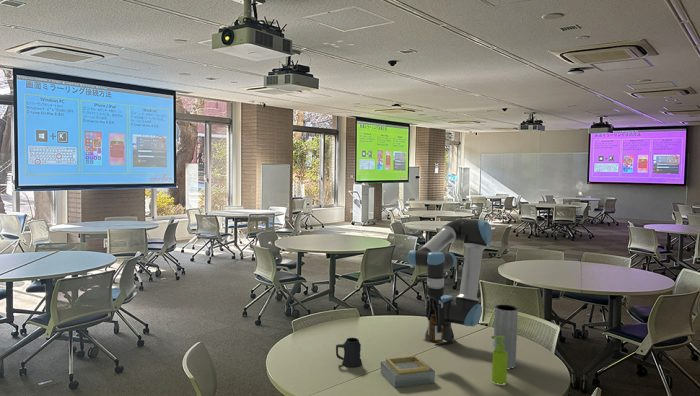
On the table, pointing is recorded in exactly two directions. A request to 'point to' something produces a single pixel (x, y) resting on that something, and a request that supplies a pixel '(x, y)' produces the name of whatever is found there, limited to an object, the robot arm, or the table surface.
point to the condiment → (432, 332)
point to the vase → (506, 330)
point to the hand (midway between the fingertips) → (434, 336)
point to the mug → (350, 353)
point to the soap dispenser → (499, 362)
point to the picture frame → (407, 371)
